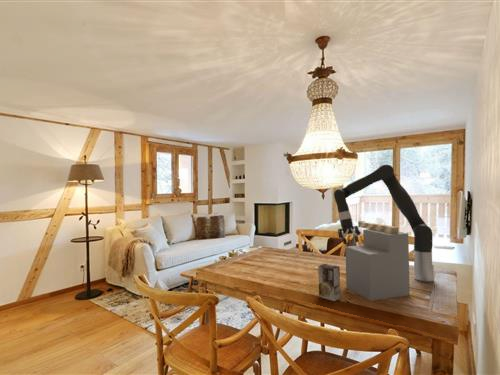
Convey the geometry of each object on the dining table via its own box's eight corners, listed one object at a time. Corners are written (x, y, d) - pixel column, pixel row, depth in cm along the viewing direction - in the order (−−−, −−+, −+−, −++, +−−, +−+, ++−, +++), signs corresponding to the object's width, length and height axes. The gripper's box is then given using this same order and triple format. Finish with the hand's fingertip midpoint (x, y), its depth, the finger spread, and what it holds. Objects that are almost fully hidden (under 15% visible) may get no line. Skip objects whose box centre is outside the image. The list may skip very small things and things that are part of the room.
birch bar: (358, 226, 171) (358, 221, 171) (363, 226, 172) (362, 221, 172) (393, 233, 144) (393, 227, 144) (398, 233, 145) (398, 226, 145)
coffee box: (340, 298, 142) (340, 266, 142) (334, 301, 138) (333, 269, 138) (324, 293, 149) (324, 263, 149) (318, 296, 144) (317, 265, 144)
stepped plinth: (346, 287, 157) (345, 230, 157) (381, 282, 163) (380, 228, 164) (370, 300, 138) (369, 236, 138) (409, 295, 144) (408, 233, 144)
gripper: (351, 218, 189) (356, 241, 186) (333, 220, 186) (338, 245, 182) (358, 216, 182) (364, 241, 179) (339, 219, 178) (345, 244, 175)
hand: (351, 243), depth 181 cm, fingers open, 8 cm apart
